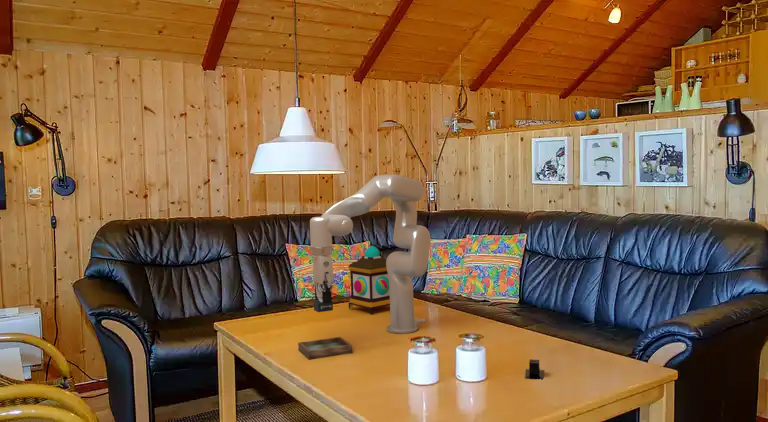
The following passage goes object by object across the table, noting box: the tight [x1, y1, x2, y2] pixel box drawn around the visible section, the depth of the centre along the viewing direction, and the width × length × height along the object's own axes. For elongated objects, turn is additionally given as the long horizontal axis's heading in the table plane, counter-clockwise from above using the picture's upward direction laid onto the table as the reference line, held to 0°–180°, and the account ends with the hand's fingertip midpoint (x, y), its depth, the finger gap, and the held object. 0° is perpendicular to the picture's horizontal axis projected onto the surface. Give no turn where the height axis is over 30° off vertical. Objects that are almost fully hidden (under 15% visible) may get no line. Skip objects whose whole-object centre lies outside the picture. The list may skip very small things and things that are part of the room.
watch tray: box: [297, 336, 353, 360], centre depth 214 cm, size 16×13×3 cm
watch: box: [313, 282, 334, 313], centre depth 213 cm, size 6×8×11 cm
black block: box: [524, 358, 545, 381], centre depth 182 cm, size 12×7×5 cm, turn 164°
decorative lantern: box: [347, 245, 390, 316], centre depth 281 cm, size 20×20×30 cm
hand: (323, 300), depth 213 cm, fingers closed on watch, 8 cm apart
